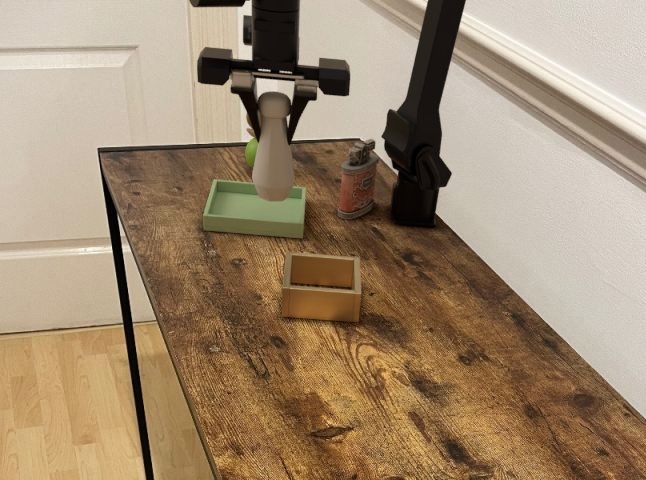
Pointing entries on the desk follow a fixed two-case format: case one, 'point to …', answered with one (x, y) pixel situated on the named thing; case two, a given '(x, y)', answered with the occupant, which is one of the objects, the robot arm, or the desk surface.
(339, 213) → the lighter
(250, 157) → the snail figurine
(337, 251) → the desk surface
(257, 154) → the salt shaker
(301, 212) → the tray
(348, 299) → the open brown box
